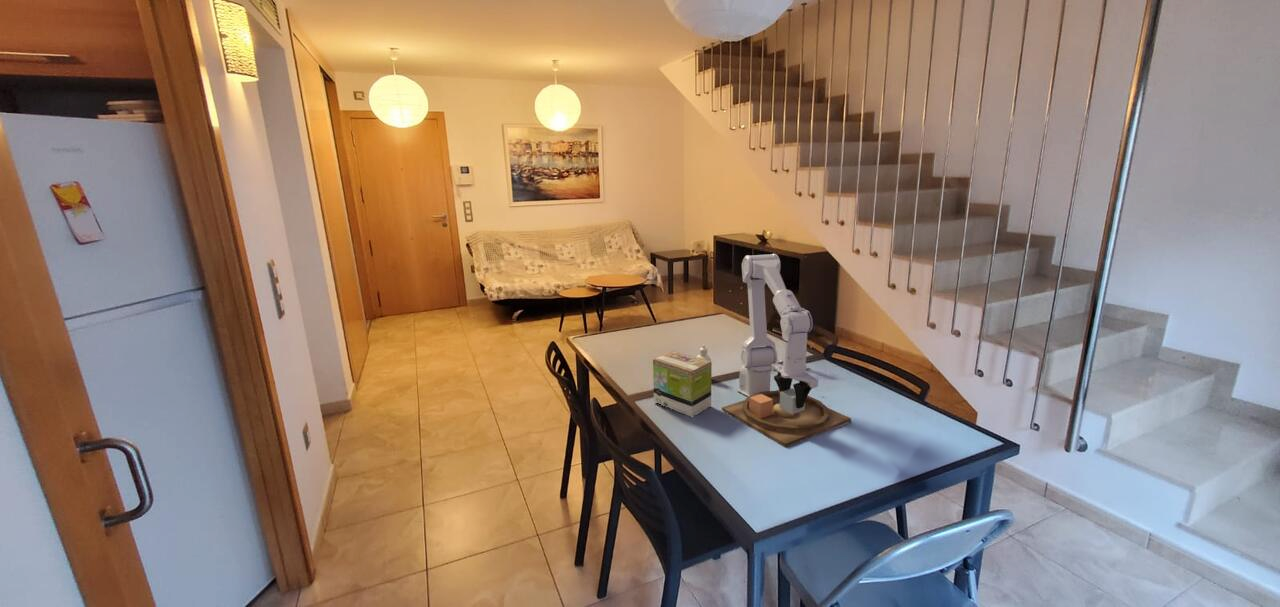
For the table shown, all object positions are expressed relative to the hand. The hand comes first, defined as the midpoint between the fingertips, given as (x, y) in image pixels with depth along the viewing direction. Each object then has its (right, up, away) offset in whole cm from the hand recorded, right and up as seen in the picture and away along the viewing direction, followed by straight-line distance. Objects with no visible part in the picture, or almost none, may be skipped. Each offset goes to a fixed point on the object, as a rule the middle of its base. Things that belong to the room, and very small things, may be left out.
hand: (792, 403), depth 138 cm
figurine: (+15, +4, +43) cm, 45 cm away
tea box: (-28, -4, +17) cm, 33 cm away
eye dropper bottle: (-19, +1, +37) cm, 42 cm away
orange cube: (-7, -4, +8) cm, 11 cm away
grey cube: (0, -1, 0) cm, 1 cm away
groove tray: (0, -5, +8) cm, 10 cm away
